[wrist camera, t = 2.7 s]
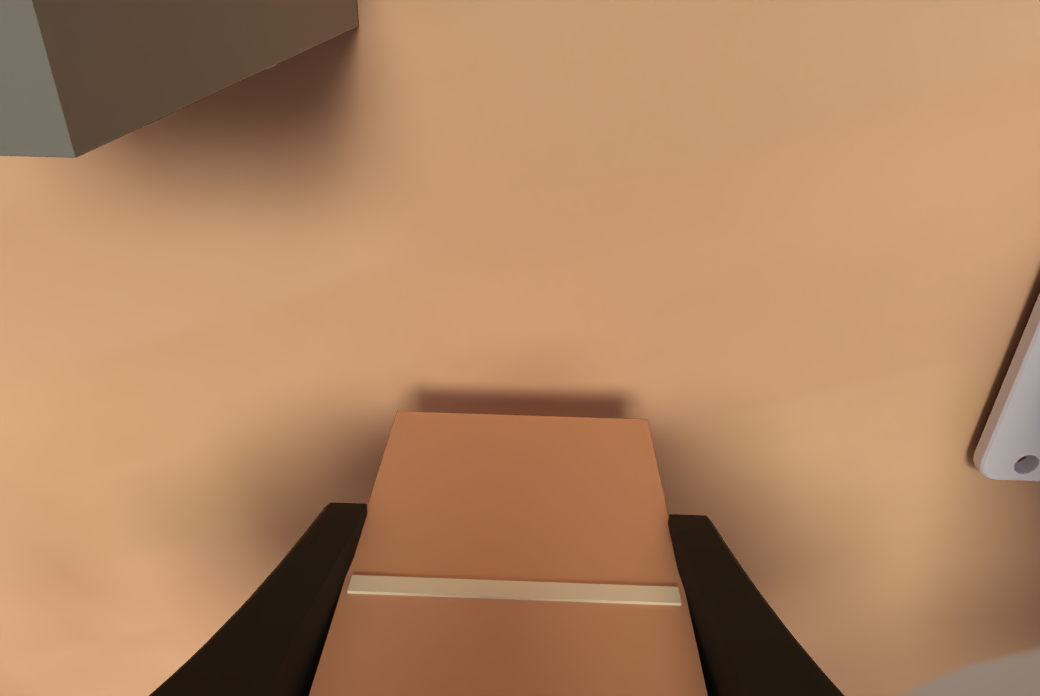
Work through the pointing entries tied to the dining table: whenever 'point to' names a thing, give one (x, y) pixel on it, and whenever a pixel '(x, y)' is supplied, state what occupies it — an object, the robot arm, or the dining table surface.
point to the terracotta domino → (513, 566)
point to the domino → (137, 61)
